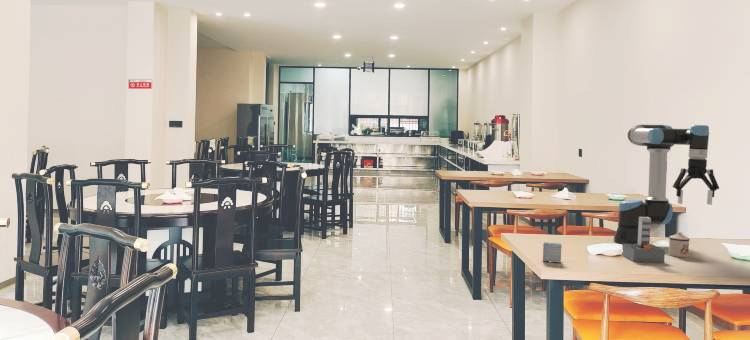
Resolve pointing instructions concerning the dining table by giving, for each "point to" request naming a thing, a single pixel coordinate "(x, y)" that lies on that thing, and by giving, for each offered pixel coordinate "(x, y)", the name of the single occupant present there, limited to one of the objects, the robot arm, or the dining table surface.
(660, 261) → the sleeve base
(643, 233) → the column
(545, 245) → the medicine box
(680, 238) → the teacup with lid
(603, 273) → the dining table surface
